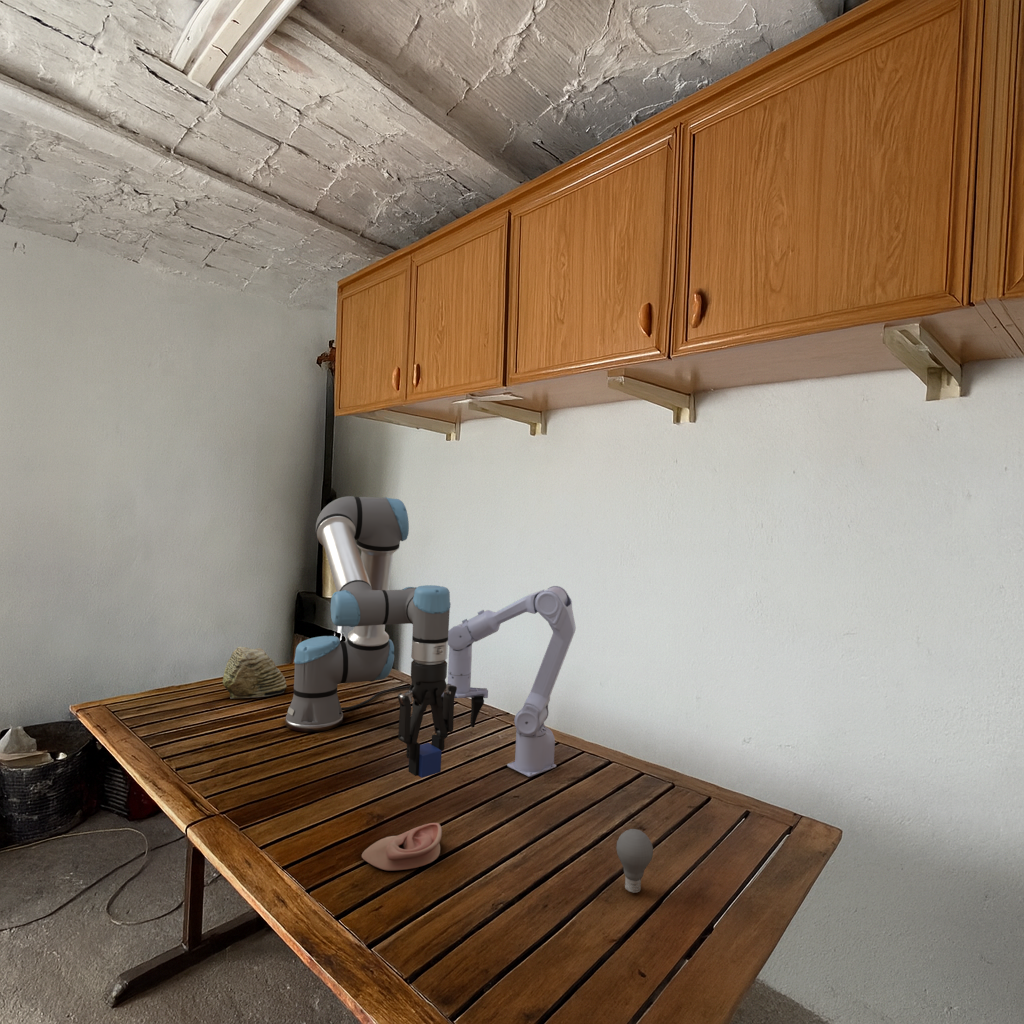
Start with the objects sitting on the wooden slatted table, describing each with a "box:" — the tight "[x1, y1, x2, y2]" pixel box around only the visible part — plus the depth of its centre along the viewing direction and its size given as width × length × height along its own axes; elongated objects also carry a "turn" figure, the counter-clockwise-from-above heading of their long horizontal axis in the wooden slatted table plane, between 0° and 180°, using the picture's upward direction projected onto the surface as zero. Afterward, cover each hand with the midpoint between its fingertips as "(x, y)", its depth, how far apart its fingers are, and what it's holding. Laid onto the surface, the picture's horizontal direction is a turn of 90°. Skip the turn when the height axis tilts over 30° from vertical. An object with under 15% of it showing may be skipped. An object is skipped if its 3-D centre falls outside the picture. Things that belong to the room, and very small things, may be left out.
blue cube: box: [418, 742, 443, 779], centre depth 133 cm, size 5×5×5 cm
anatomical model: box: [361, 822, 443, 872], centre depth 114 cm, size 13×4×12 cm
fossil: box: [222, 646, 288, 699], centre depth 198 cm, size 9×18×15 cm, turn 132°
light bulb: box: [615, 828, 654, 894], centre depth 106 cm, size 6×6×10 cm
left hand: (424, 769), depth 133 cm, fingers closed on blue cube, 5 cm apart
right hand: (457, 726), depth 158 cm, fingers open, 7 cm apart
